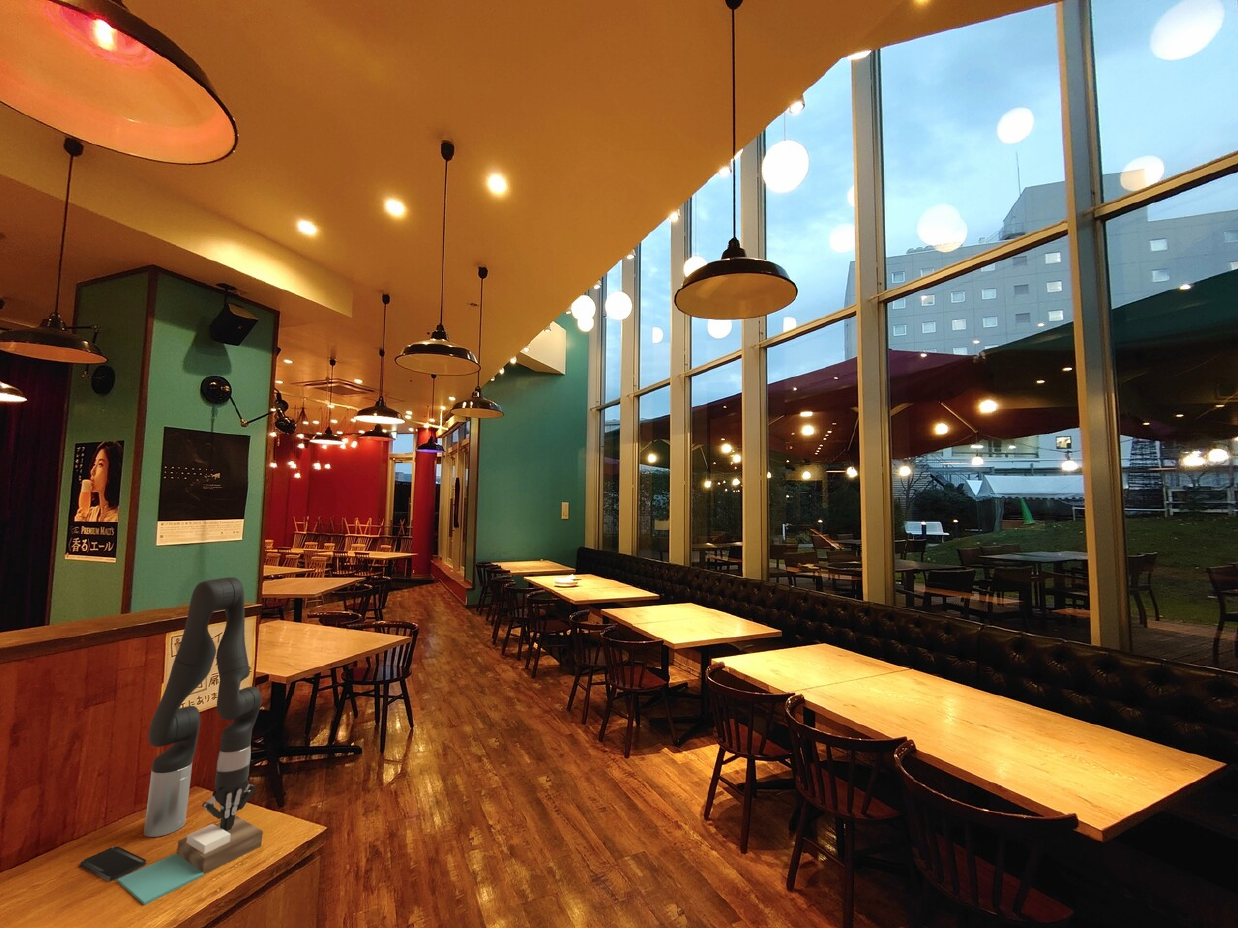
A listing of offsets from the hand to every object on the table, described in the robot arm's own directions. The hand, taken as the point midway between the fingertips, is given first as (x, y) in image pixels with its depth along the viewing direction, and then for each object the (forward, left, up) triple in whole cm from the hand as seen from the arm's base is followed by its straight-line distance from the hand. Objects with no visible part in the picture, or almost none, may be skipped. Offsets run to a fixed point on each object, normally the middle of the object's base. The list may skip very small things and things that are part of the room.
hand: (226, 829), depth 145 cm
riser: (0, -1, -5) cm, 5 cm away
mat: (0, -14, -5) cm, 15 cm away
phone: (-17, -18, -6) cm, 25 cm away
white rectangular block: (0, -4, 0) cm, 4 cm away
